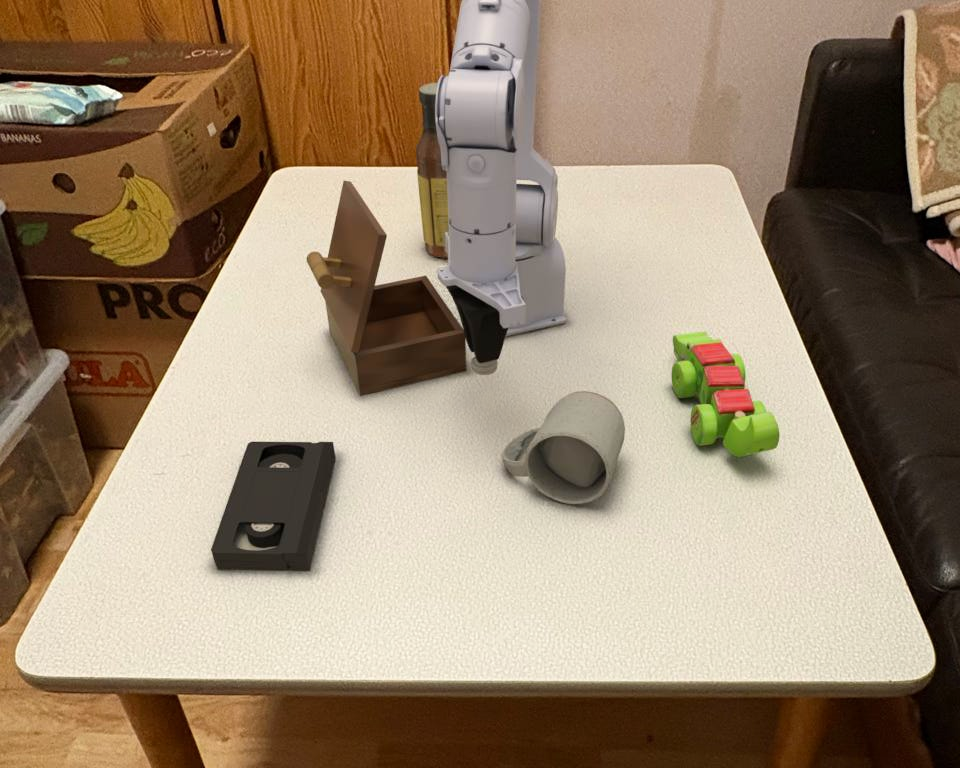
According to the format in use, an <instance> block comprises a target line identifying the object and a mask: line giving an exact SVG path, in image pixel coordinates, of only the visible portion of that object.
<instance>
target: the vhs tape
mask: <svg viewBox="0 0 960 768" xmlns="http://www.w3.org/2000/svg"><path fill="white" fill-rule="evenodd" d="M336 459H337V457H336V452H335V445H334V441H318V442H312V441H250V442H248V443H247V445H246V448H245V450H244V453H243V456H242V459H241V462H240V464H239V468H238V472H237V473H236V477H235V480H234V482H233V484H232V488H231V491H230V493H229V496H228V499H227V501H226V505H225V507H224V511H223V514H222V517H221V519H220V523H219V526H218V528H217V531H216V534H215V537H214V539H213V543H212V545H211V548H210V551H211V555H212V557H213V562H214V564H215V568H216V569H217V570H245V571H246V570H250V571H251V570H254V571H255V570H256V571H257V570H258V571H289V569H290V571H311V566H312V562H313V559H314V554H315V549H316V544H317V542H318V541H317V540H318V536H319V531H320V527H321V523H322V520H323V519H322V518H323V515H324V509H325V505H326V501H327V497H328V493H329V488H330V485H331V480H332V474H333V472H334V466H335V463H336Z"/></svg>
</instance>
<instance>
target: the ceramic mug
mask: <svg viewBox="0 0 960 768" xmlns="http://www.w3.org/2000/svg"><path fill="white" fill-rule="evenodd" d="M625 431H626V426H625V419H624V417H623V415H622V412H621V411H620V410H619V408H618V407H617V405H616V404H615V403H614V402H613V401H612V400H611V399H610V398H608V397H606V396H603V395H602V394H599V393H597V392H593V391H587V390H586V391H584V390H581V391H574V392H571V393H568V394H566V395H565V396H563V397H562V398H560V399H559V400H558V401H557V402H556V403H555V404H554V405H552V407H551V409H550V410H549V411H548V413H547V414H546V417H545V418H544V420H543V422H542V424H541V426H540V427H536V428H532V429H530V430H529V429H528V430H527V431H525V432H523V433H520V434H519V435H517V436H516V437H515V438H513V439H512V440H510V442H508V444H507V445H506V446H505V448H504V449H503V451H502V454H501V459H502V461H503V463H504V465H505V467H506V470H507V471H508V472H509V473H510V474H511V475H513V476H517V477H528V479H529V481H530V483H531V484H532V485H533V486H534V487H535V488H536V489H537V490H538V491H539V492H540V493H542V494H543V495H545V496H546V497H547V498H549V499H552V500H554V501H555V502H559V503H562V504H568V505H583V504H587V503H591V502H594V501H595V500H597V499H598V498H600V497H601V496H602V495H603V494H604V493H605V492H606V491H607V489H608V487H609V485H610V483H611V480H612V476H613V473H614V471H615V468H616V466H617V463H618V459H619V456H620V453H621V451H622V447H623V445H624V441H625V433H626V432H625ZM526 448H527V449H526ZM525 449H526V452H525V455H524V460H522V461H520V460H516V459H517V458H518V456H519V454H520V453H521V452H522V451H524V450H525Z"/></svg>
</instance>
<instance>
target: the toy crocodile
mask: <svg viewBox="0 0 960 768" xmlns="http://www.w3.org/2000/svg"><path fill="white" fill-rule="evenodd" d="M672 346H673V354H674V355H673V356H675V358H676V359H677V361H675V362H674V363H673V365H672V367H671V384H672V388H673V389H672V390H673V392H674V393H675V395H676V397H678V398H679V399H684V398H692V397H694V396H695V395H696V393H697V394H698V398H699V402H700V404H695V405H694V406H693V407H692V409H691V413H690V432H691V436H692V440H693V442H694V444H696V445H698V446H710V445H713V444H714V443H715V442H716V440H717V439H719V438H723V440H722V445H723V447H725V449H726V450H727V451H728V452H729V453H730V454H731V455H733V456H735V457H738V458H742V457H747V456H750V455H754V454H758V453H762V452H767V451H770V450H775V449H776V448H777V447H778V445H779V442H780V435H781V434H780V428H779V425H778V422H777V419H776V418H775V416H774V415H773V413H772V412H771V411H767V407H766V406H765V405H764V402H762V401H761V400H753V399H752V395H751V393H750V390H749V388H745V387H746V386H745V384H746V366H745V361H744V360H743V358H742V356H741V355H740V354H739V353H731V352H730V351H729V350H728V348H727V347H726V346H725V344H724V343H723V341H722V339H720V338H715V339H714V338H711V336H709V334H708V333H707V331H699V332H689V333H682V334H680V333H679V334H674V335H673V336H672Z"/></svg>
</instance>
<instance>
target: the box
mask: <svg viewBox="0 0 960 768" xmlns="http://www.w3.org/2000/svg"><path fill="white" fill-rule="evenodd" d="M324 301H325V300H324ZM324 303H325V309H326V315H327V316H326V317H327V323H328V331H329V335H330V337H331V338H332V340H333V343H334V345H335V347H336V349H337V351H338V353H339V355H340V357H341V359H342V361H343V363H344V366H345V367H346V370H347V372H348V373H349V376H350V378H351V380H352V382H353V384H354V386H355V388H356V390H357V392H358V394H359V396H365V395H369V394H374V393H378V392H381V391H387V390H390V389H394V388H400V387H404V386H408V385H413V384H416V383H420V382H426V381H429V380H433V379H437V378H443V377H446V376H451V375H456V374H460V373H463V372H466V371H467V348H466V347H467V345H466V344H467V341H466V338H465V334H464V330H463V326H462V324H460V322H459V321H458V320H457V318H456V317H455V315H454V313H453V312H452V311H451V309H450V308H449V307H448V305H447V304H446V302H445V300H444V299H443V298H442V296H441V295H440V294H439V292H438V291H437V289H436V288H435V286H434V284H433V283H432V282H431V281H430V279H429V277H428V276H427V275H421V276H417V277H411V278H407V279H402V280H397V281H391V282H387V283H381V284H377V285H376V284H375V287H374V291H373V295H372V299H371V303H370V307H369V311H368V315H367V319H366V324H365V328H364V332H363V336H362V340H361V344H360V348H359V352H358V353H355V352H351V351H350V349H349V347H348V345H347V343H346V341H345V339H344V337H343V335H342V333H341V331H340V329H339V327H338V325H337V323H336V321H335V319H334V317H333V315H332V313H331V311H330V309H329V307H328V305H327V303H326V301H325V302H324Z"/></svg>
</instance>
